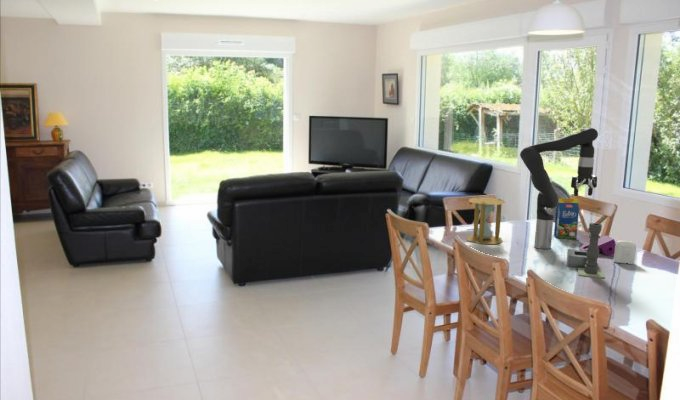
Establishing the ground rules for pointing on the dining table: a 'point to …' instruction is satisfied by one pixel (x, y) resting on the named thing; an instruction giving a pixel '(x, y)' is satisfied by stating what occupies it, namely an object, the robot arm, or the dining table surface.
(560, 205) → the blue food package
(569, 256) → the socket block
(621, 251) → the photo printer
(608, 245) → the mounting bracket
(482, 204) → the hourglass
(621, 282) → the dining table surface
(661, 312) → the dining table surface
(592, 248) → the candle holder
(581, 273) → the mat
